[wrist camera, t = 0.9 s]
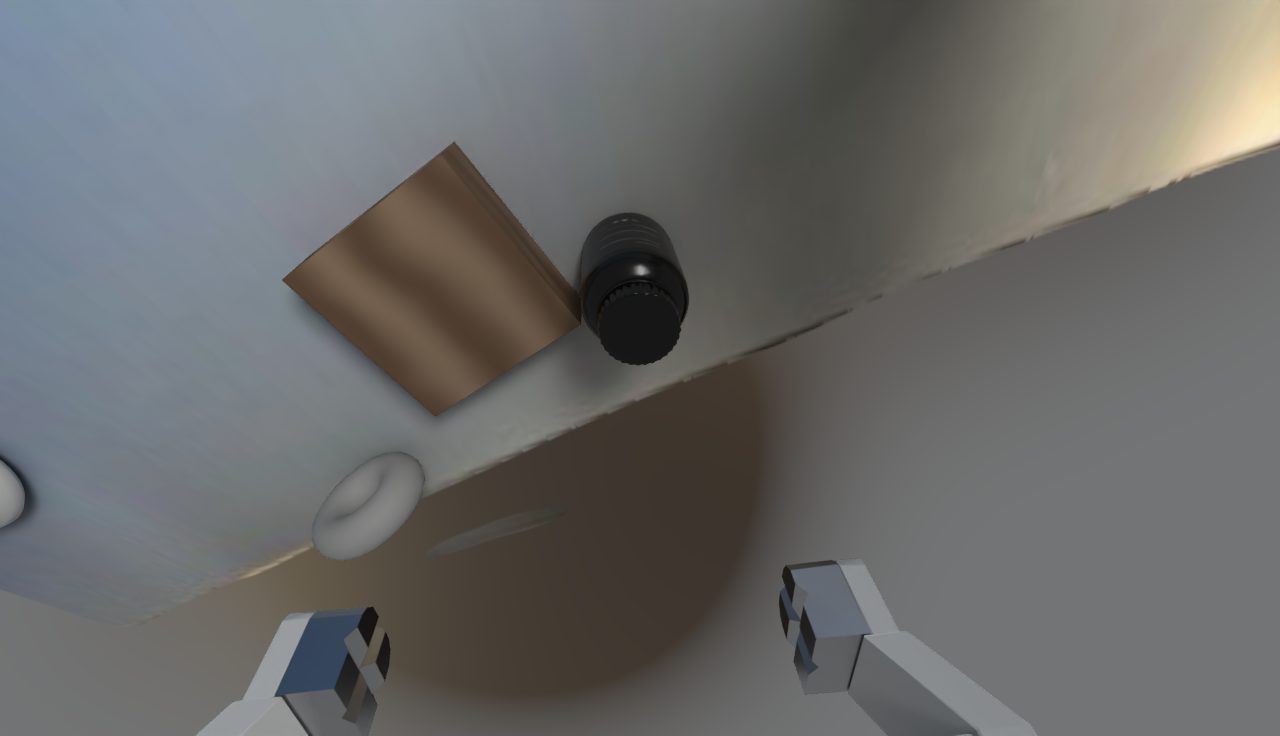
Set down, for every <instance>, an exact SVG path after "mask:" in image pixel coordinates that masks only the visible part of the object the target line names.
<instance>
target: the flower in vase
mask: <svg viewBox="0 0 1280 736" xmlns="http://www.w3.org/2000/svg"><path fill="white" fill-rule="evenodd" d="M24 503H25V491H24V488H23V485H22V483H21V481H20V480H19V478H18V477H17V475H16V474H15V473H14V472H13V471H12V470H11V468H10V467H9V466H7V465H6V464H5V463H4V462H3V461H2V460H0V528H1V527H3V526H6V525H8V524H10V523H12V522H14V521H15V520H16V519H17V518H18V517H19V516H20V515H21V514H22V511H23V509H24Z"/></svg>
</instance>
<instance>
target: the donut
mask: <svg viewBox="0 0 1280 736" xmlns="http://www.w3.org/2000/svg"><path fill="white" fill-rule="evenodd" d="M424 480H425V477H424V473H423V470H422V467H421V464H420V463H419V462H418V460H416V459H415V458H413V457H412V456H410V455H408V454H406V453H402V452H397V453H385V454H383V455H380V456H377V457H375V458H373V459H371V460H369V461H368V462H366V463H364V464H362V465H361V466H359V467H358V468H356V469H355V470H354V471H353V472H351V473H350V474H349V475H347V476H346V477H345V478H344V479H343V480H342V481H341V482H340V483H339V484H338V485H337V486H336V487H335V488H334V490H333V491H332V492H331V493H330V494H329V496H328V497H327V498H326V500H325V501H324V503H323V504H322V506H321V507H320V509H319V511H318V512H317V515H316V517H315V520H314V522H313V527H312V541H313V544H314V546H315V547H316V548H317V549H318V551H319V552H320V553H321V554H322V555H323V556H324V557H326V558H328V559H335V560H349V559H353V558H356V557H359V556H362V555H365V554H367V553H368V552H370V551H372V550H374V549H375V548H377V547H379V546H380V545H381V544H382V543H384V542H385V541H386V540H387V539H389V538H390V537H391V536H392V535H393V534H394V533H395V532H396V531H397V530H398V529H399V528H400V527H401V526H402V525H403V524H404V523H405V522H406V520H407V519H408V518H409V516H410V515H411V513H412V512H413V510H414V509H415V508H416V506H417V504H418V502H419V499H420V497H421V495H422V492H423V486H424Z"/></svg>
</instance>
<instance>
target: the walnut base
mask: <svg viewBox="0 0 1280 736" xmlns="http://www.w3.org/2000/svg"><path fill="white" fill-rule="evenodd" d="M282 281H283V282H285V283H286V284H287V285H288V286H289V287H290V288H291V289H292V290H294V291H295V292H296V293H297V294H298V295H299V296H300V297H301V298H303V299H304V300H305V301H306V302H307V303H308V304H309V305H310V306H312V307H313V308H314V309H315V310H316V311H317V312H318V313H319V314H321V315H322V316H323V317H324V318H325V319H326V320H327V321H328V322H330V323H331V324H332V325H333V326H334V327H335V328H336V329H338V330H339V331H340V332H341V333H342V334H343V335H344V336H345V337H347V338H348V339H349V340H350V341H351V342H352V343H353V344H354V345H356V346H357V347H358V348H359V349H360V350H361V351H362V352H363V353H365V354H366V355H367V356H368V357H369V358H370V359H371V360H372V361H374V362H375V363H376V364H377V365H378V366H379V367H380V368H381V369H383V370H384V371H385V372H386V373H387V374H388V375H389V376H390V377H392V378H393V379H394V380H395V381H396V382H397V383H398V384H399V385H401V386H402V387H403V388H404V389H405V390H406V391H407V392H409V393H410V394H411V395H412V396H413V397H414V398H415V399H416V400H418V401H419V402H420V403H421V404H422V405H423V406H424V407H425V408H427V409H428V410H429V411H430V412H431V413H432V414H433V415H434V416H437V415H439V414H440V413H442V412H443V411H445V410H446V409H448V408H450V407H451V406H453V405H454V404H456V403H458V402H459V401H461V400H462V399H464V398H465V397H467V396H469V395H470V394H472V393H473V392H475V391H476V390H478V389H480V388H481V387H483V386H484V385H486V384H487V383H489V382H491V381H492V380H494V379H495V378H497V377H498V376H500V375H502V374H503V373H505V372H506V371H508V370H509V369H511V368H513V367H514V366H516V365H517V364H519V363H520V362H522V361H524V360H525V359H527V358H528V357H530V356H531V355H533V354H535V353H536V352H538V351H539V350H541V349H543V348H544V347H546V346H547V345H549V344H550V343H552V342H554V341H555V340H557V339H558V338H560V337H561V336H563V335H565V334H566V333H568V332H569V331H571V330H572V329H574V328H576V327H577V326H579V325H580V324H581V298H580V297H579V296H578V294H577V293H576V292H575V291H574V289H573V288H572V287H571V286H570V285H569V283H568V282H567V281H566V280H565V278H564V277H563V276H562V275H561V273H560V272H559V271H558V270H557V268H556V267H555V266H554V265H553V263H552V262H551V261H550V260H549V258H548V257H547V256H546V255H545V253H544V252H543V251H542V250H541V249H540V247H539V246H538V245H537V244H536V242H535V241H534V240H533V239H532V237H531V236H530V235H529V234H528V232H527V231H526V230H525V229H524V227H523V226H522V225H521V224H520V222H519V221H518V220H517V219H516V218H515V216H514V215H513V214H512V213H511V211H510V210H509V209H508V208H507V206H506V205H505V204H504V203H503V201H502V200H501V199H500V198H499V196H498V195H497V194H496V193H495V191H494V190H493V189H492V188H491V187H490V185H489V184H488V183H487V182H486V180H485V179H484V178H483V177H482V175H481V174H480V173H479V172H478V170H477V169H476V168H475V167H474V165H473V164H472V163H471V162H470V160H469V159H468V158H467V157H466V156H465V154H464V153H463V152H462V151H461V149H460V148H459V147H458V146H457V144H456V143H455V142H453V143H452V144H451V145H450V146H448V147H447V148H446V149H444V150H443V151H442V152H441V153H439V154H438V155H437V156H436V157H434V158H433V159H432V160H430V161H429V162H428V163H427V164H425V165H424V166H423V167H422V168H420V169H419V170H418V171H417V172H415V173H414V174H413V175H411V176H410V177H409V178H408V179H406V180H405V181H404V182H403V183H401V184H400V185H399V186H397V187H396V188H395V189H394V190H392V191H391V192H390V193H389V194H387V195H386V196H385V197H384V198H382V199H381V200H380V201H378V202H377V203H376V204H375V205H373V206H372V207H371V208H370V209H368V210H367V211H366V212H364V213H363V214H362V215H361V216H359V217H358V218H357V219H356V220H354V221H353V222H352V223H351V224H349V225H348V226H347V227H345V228H344V229H343V230H342V231H340V232H339V233H338V234H337V235H335V236H334V237H333V238H331V239H330V240H329V241H328V242H326V243H325V244H324V245H323V246H321V247H320V248H319V249H318V250H316V251H315V252H314V253H312V254H311V255H310V256H309V257H307V258H306V259H305V260H304V261H303V262H302V263H301V264H299V265H298V266H297V267H296V268H295V269H294V270H293V271H292V272H290V273H289V274H288V275H287V276H286V277H285V278H284V279H282Z"/></svg>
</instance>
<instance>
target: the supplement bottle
mask: <svg viewBox="0 0 1280 736" xmlns="http://www.w3.org/2000/svg"><path fill="white" fill-rule="evenodd" d="M688 305H689V293H688V287H687V284H686V280H685V277H684V275H683V272H682V269H681V267H680V264H679V261H678V259H677V256H676V253H675V251H674V248H673V245H672V243H671V241H670V238H669V236H668V235H667V233H666V232H665V230H664V229H663V228H662V227H661V226H660V225H659V224H658V223H657V222H655V221H654V220H652V219H651V218H649V217H646V216H644V215H640V214H636V213H621V214H616V215H613V216H610V217H608V218H606V219H604V220H603V221H601V222H600V223H599V224H597V225H596V226H595V227H594V228H593V229H592V231H591V232H590V234H589V235H588V237H587V239H586V241H585V244H584V247H583V252H582V266H581V308H582V313H583V317H584V319H585V321H586V323H587V325H588V327H589V328H590V330H591V331H592V332H593V333H594V334H595V335H596V336H597V337H598V338H599V339H600V340H601V344H602V345H603V346H604V349H605V350H606V351H607V352H609V355H610V356H613V357H614V358H615V359H616V360H620V361H621V362H622V363H628V364H630V365H633V364H635V365H641V364H643V365H646V364H648V363H654V362H655V361H657V360H660V359H661V358H662V357H664V356H666V355H667V354H668V352H670V351H672V349H673V347H674V346H675V345H676V343H677V340H678V339H679V337H680V336H679V333H680V331H681V327H680V326H681V324H682V323H683V321H684V319H685V316H686V314H687V310H688Z"/></svg>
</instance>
